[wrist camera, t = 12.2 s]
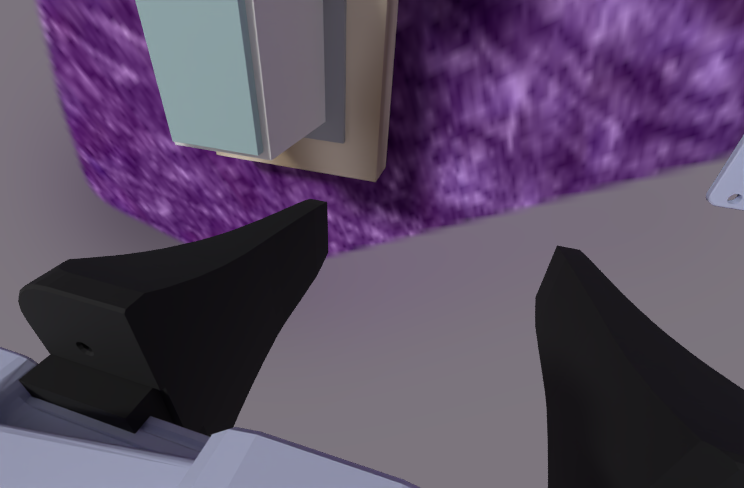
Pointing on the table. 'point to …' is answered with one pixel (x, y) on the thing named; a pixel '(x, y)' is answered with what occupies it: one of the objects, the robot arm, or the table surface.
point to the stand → (351, 93)
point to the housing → (238, 71)
